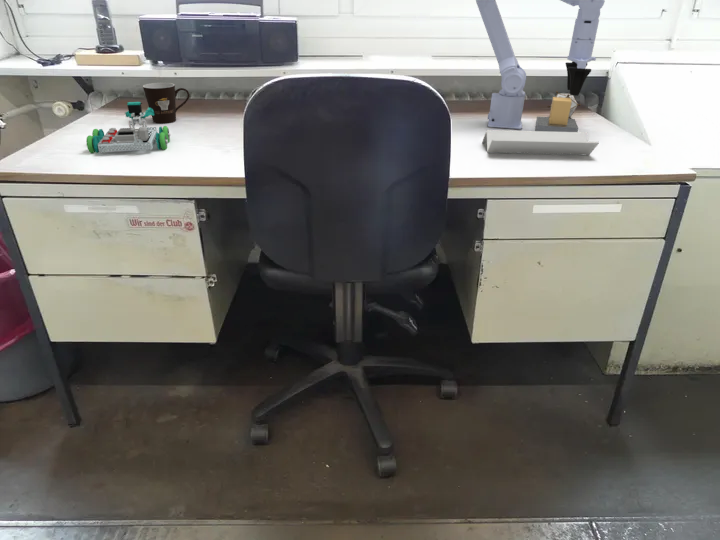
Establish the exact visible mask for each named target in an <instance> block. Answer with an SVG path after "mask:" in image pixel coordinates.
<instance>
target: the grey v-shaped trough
mask: <svg viewBox="0 0 720 540" xmlns="http://www.w3.org/2000/svg"><path fill="white" fill-rule="evenodd" d="M481 144H486V153H488V154H489V153H491V154H492V153H493V154H494V153H495V154H526V155H527V154H529V155H530V154H533V155H537V154H538V155H570V154H571V155H572V156H590V155H591V154H592V152H593V151H594V150H595V148H597V147H598V145H599V144H600V142H599V141H589V137H588V132H586V131H584V132H583V131H578V132H548V131H535V130H502V129H501V130H500V129H499V130H496V129H494V130H493V129H486V131H485V134H484V136H483V138H482V141H481Z"/></svg>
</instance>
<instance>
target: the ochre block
mask: <svg viewBox="0 0 720 540" xmlns="http://www.w3.org/2000/svg"><path fill="white" fill-rule="evenodd" d="M571 102H572V101H571V98H561V97H556V96H552V99H551V104H552V105H551V104H550V105H551V108H550V111H549V116H548V117H549V124H563V125H567V122H568V119H569V118H568V117H569V112H570V107H571Z"/></svg>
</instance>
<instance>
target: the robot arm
mask: <svg viewBox="0 0 720 540" xmlns="http://www.w3.org/2000/svg"><path fill="white" fill-rule="evenodd" d="M559 1H560V2H562V3H566V4H567V5H570V6H572V7H575V6H578V7H579V8H578V10H577V11H578V12H577V14H576V15H577V16H576V18H575V22H574V26H573V31H572V36H571V42H570V47H569V52H568V55H567V58H566V59H567V60H568V61H570V62H565V67H566V72H567V75H566V77H567V79H566V81H567V84H566V89H567V90H568V91H569V94H570V95H573V96H574V97H575V96H576V97H577V96H579V95H580V93H581V91H582V89H583V86H584V83H585V81H586V79H587V78H588V76H589V75H590V74H591V72H592V69H591V68H587V66H588V63H590V62H591V61H595V62H596V60H597V58H596V56H593V52H594V46H595V41H596V37H597V33H598V28H599V22H600V19H599V18H600V17H601V9H602V8H603V6H604V5H605V2H606V1H605V0H559ZM475 2H476V5H477V8H478V11H479V13H480V16H481V20H482V22H483V25H484V27H485V31H486V32H487V36H488V39H489V42H490V44H491V47H492V50H493V52H494V56H495V58H496V61H497V64H498V68H499V73H500V76H501V83H500V85H501V86H500V87H501V89H499V92H492V93H491V100H490V107H489V112H488V113H487V120H488V123H487V127H488V128H499V129H500V128H502V129H513V130H514V129H515V130H522V129H523V124H522V123H523V122H522V115H523V111H524V103H525V98H526V92H525V91H524V89H525V86H526V81H527V73H526V71H525V69H523V68H522V67H521V66H520V64H519V61H518V59H517V56H516V55H515V53H514V50H513V49H514V48H513V47H512V44H511V40H510V38H509V35H508V32H507V28H506V26H505V23H504V21H503V19H502V15H501V12H500V10H499V7H498V4H497V1H496V0H475Z"/></svg>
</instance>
